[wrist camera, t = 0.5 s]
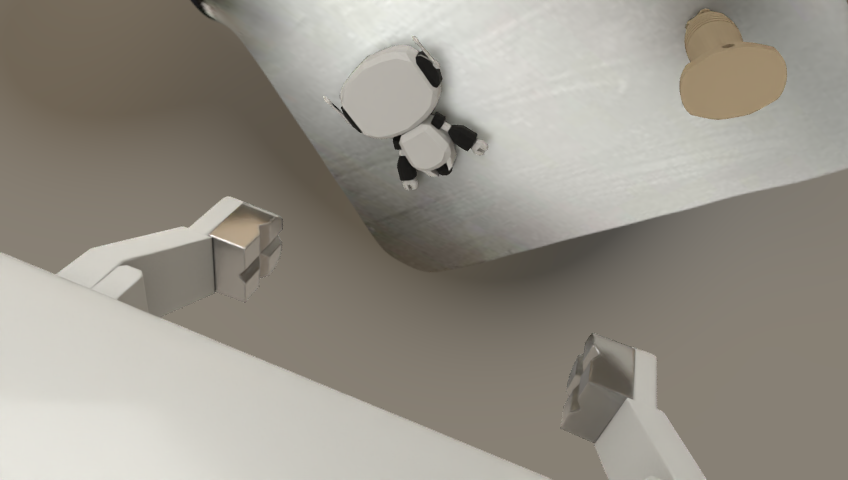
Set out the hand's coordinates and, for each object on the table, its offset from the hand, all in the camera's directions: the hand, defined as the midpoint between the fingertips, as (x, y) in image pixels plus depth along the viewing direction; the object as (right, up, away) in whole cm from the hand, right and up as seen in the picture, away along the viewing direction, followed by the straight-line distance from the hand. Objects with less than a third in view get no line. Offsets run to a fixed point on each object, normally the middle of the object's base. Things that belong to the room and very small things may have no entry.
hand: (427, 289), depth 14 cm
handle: (+25, +20, +37) cm, 49 cm away
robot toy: (-1, +15, +49) cm, 51 cm away
